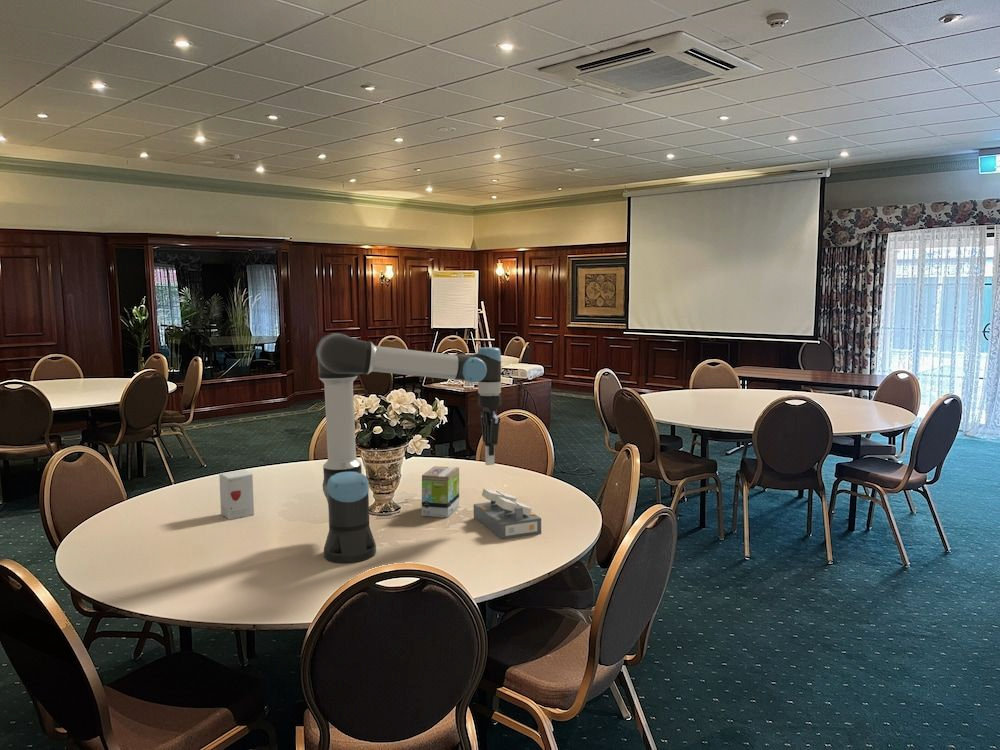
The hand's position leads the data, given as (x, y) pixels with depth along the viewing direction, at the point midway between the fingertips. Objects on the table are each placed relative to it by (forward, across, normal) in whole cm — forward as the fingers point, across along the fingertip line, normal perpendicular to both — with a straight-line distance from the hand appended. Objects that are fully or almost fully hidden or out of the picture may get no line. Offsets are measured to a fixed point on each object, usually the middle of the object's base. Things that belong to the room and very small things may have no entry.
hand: (490, 464), depth 231 cm
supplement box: (+21, +45, +79) cm, 93 cm away
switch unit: (+20, -5, -4) cm, 21 cm away
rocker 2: (+13, -11, -3) cm, 17 cm away
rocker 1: (+13, +1, -3) cm, 13 cm away
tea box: (+20, +20, +11) cm, 31 cm away
